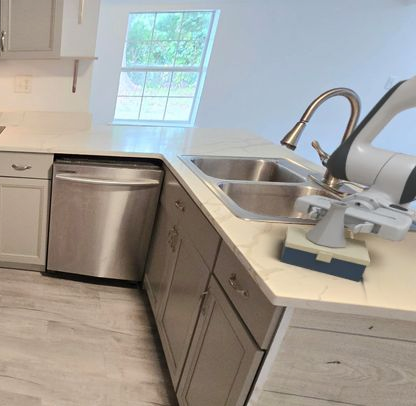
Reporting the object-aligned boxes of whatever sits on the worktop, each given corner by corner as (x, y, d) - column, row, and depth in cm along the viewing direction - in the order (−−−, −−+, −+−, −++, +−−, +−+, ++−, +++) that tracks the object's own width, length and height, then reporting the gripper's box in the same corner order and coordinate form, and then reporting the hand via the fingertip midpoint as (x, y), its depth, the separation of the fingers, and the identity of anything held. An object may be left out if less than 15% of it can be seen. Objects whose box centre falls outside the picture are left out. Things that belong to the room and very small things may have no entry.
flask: (313, 246, 86) (328, 207, 82) (299, 232, 92) (313, 196, 88) (352, 250, 83) (369, 211, 80) (335, 236, 90) (350, 198, 86)
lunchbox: (355, 260, 90) (364, 240, 88) (360, 283, 81) (370, 262, 79) (281, 242, 98) (288, 224, 96) (279, 262, 90) (286, 242, 88)
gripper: (314, 186, 98) (285, 195, 93) (425, 214, 81) (396, 228, 76) (307, 207, 100) (277, 217, 95) (412, 239, 83) (384, 254, 78)
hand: (331, 222), depth 85 cm, fingers open, 6 cm apart
